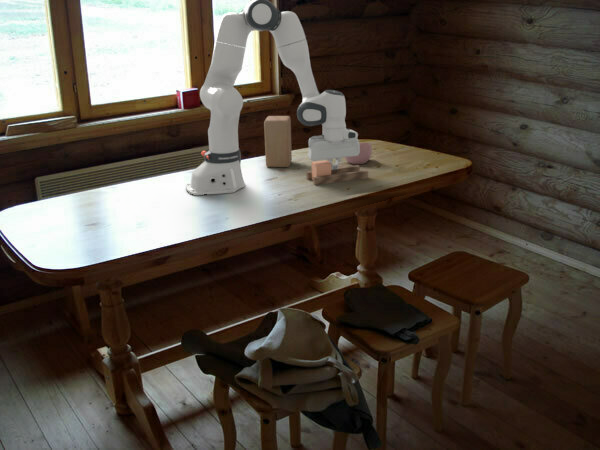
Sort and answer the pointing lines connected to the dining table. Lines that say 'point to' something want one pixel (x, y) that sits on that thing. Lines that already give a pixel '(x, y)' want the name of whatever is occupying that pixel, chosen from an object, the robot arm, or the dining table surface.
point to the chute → (339, 175)
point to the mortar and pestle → (361, 154)
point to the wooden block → (278, 141)
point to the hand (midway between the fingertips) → (334, 169)
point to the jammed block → (321, 168)
